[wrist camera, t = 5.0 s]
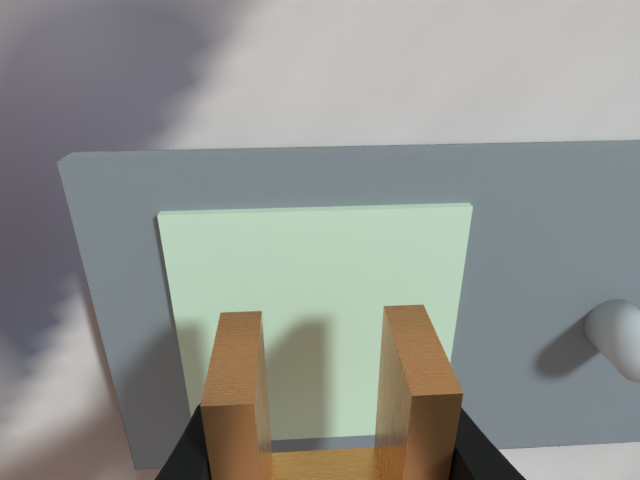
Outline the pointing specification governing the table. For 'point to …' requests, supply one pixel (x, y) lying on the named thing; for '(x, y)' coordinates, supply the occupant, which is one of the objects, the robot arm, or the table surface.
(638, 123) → the table surface
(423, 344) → the c link
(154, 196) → the peg board
